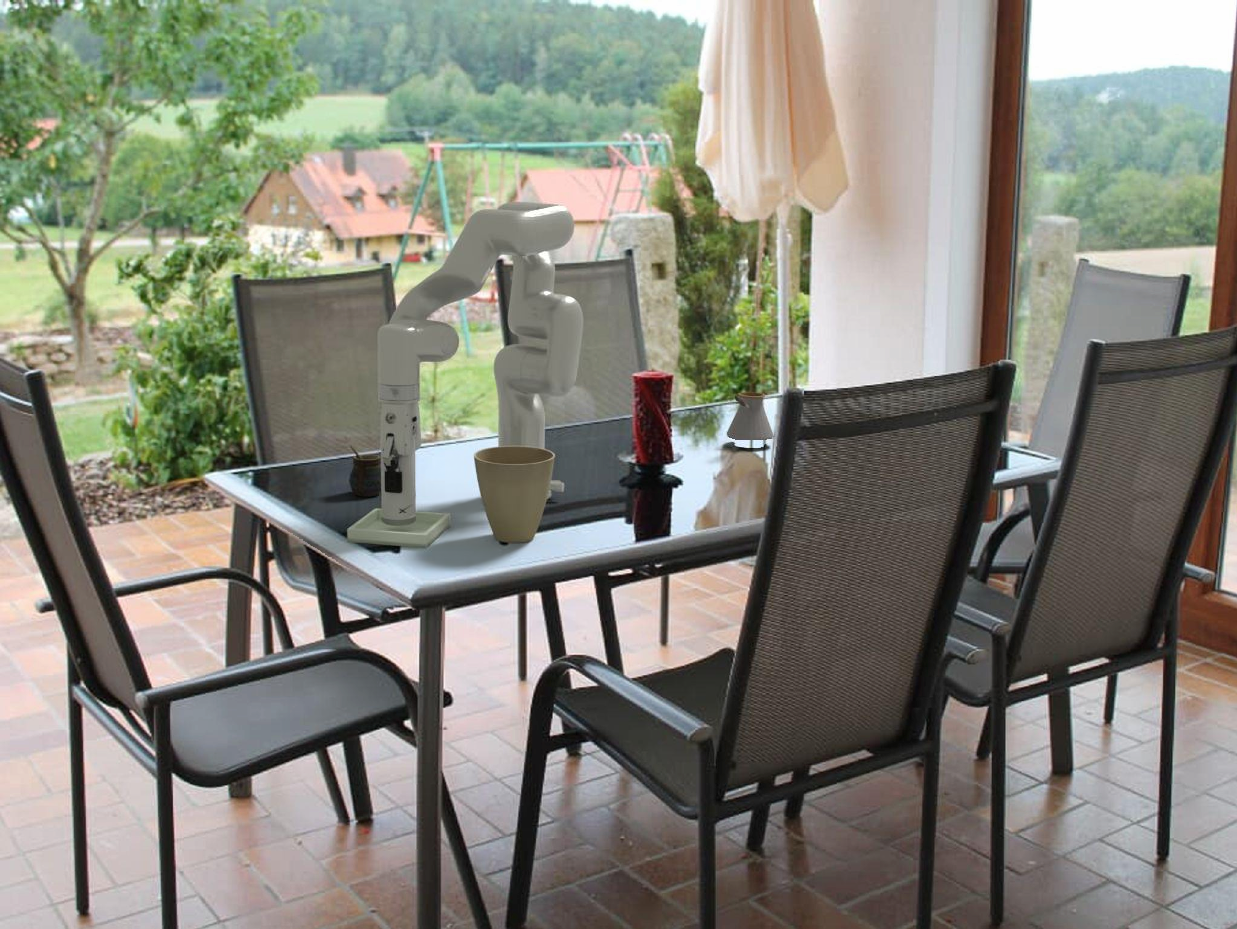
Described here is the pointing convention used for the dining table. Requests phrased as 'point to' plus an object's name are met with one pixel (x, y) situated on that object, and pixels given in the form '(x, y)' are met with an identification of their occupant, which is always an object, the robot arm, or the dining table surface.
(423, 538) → the tray
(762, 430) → the coffee pot
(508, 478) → the plant pot
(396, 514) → the travel mug
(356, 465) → the mate gourd
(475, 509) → the dining table surface
